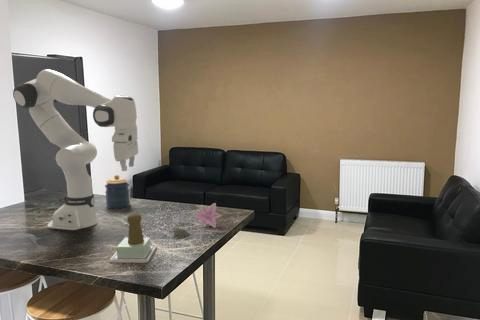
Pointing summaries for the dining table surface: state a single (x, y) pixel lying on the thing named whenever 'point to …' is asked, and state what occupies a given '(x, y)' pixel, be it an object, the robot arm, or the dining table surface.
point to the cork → (135, 229)
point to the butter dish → (134, 252)
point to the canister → (117, 193)
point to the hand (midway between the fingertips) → (128, 168)
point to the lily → (208, 215)
